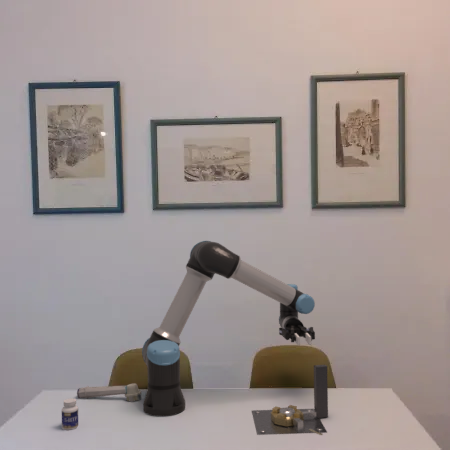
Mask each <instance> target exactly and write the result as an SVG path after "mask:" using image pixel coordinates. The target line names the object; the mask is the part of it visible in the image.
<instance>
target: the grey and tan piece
mask: <svg viewBox="0 0 450 450" xmlns="http://www.w3.org/2000/svg"><path fill="white" fill-rule="evenodd" d="M328 391H329V389H328V366H327V364H317V365H313V393H314V394H313V399H314V402H313V405H314V408H313V409H314V411H304V412H301V411H300V410H299V409H300V408H297V406H296V405H293V404H289V405H288V406H287V408H293V409H294V410H295V413H294V416H292V417H286V414H283V413H280V409H281V408H282V407H280V406H277V405H276V406H273V408H272V409H271V410H272V412H271V420H272V421H273V422H274V424H277V425H282V426H286V427H287V426H293V419H295V418H300V419H301V420H302V421H304V418H312V417H316V418H320V419H322V418H323V419H324V418H329V401H328V400H329V398H328V396H329V393H328Z"/></svg>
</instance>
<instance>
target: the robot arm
mask: <svg viewBox="0 0 450 450" xmlns="http://www.w3.org/2000/svg"><path fill="white" fill-rule="evenodd" d="M185 269H186V274H185V275H184V278H183V280H182V281H181V284H180V286H179V288H178V289H177V291H176V294H175V296H174V298H173V300H172V302H171V303H170V305H169V307H168V309H167V311H166V313H165V315H164V318H163V319H162V322H161V324H160V325H159V327H156V328H154V329H153V330H152V333H151V334H150V337H149V338H147V339H146V340H145V342H144V344H143V345H142V349H141V354H142V355H141V356H142V359H143V362H144V363H145V365H146V366H147V367H146V368H147V391H146V393H145V396H144V397H145V398H144V401H143V403H142V404H143V408H142V409H143V412H144V413H145V414H147V415H150V416H155V417H168V416H174V415H177V414H180V413H182V412H183V411H184V410H186V399H185V396H184V393H183V390H182V387H181V363H180V362H181V358H180V357H181V351H180V345H181V343H182V342H181V340H180V336H181V335H182V332H183V330H184V328H185V326H186V324H187V322H188V319H189V318H190V315H191V314H192V311H193V310H194V308H195V306H196V303H197V302H198V299H199V298H200V296H201V294H202V291H203V290H204V288H205V285H206V284H207V282H210V281H212V280H213V278H214V276H215V275H219V276H222V277H224V278H226V279H228V280H229V279H234V280H235V281H237V282H239V283H241V284H244V286H247V287H249V288H251V289H253V290H254V291H256V292H258V293H261V294H263V295H264V296H266V297H268V298H271V299H272V300H275V301H276V302H278V303H279V316H278V324H279V326H280V327H279V328H278V332H279V333H278V334H279V335H280V336H282V337H283V338H284V339H285V340H286V341H288V340H289V341H290V342H291V343H295V344H296V345H297V346H300V345H301V337H302V338H304V339H305V341H306V343H307V344H308V345H311V346H312V341H313V340H316V332H315V330H314V327H313V326H310V327H308V328H307V327H306V326H305V325H304V324H303V322H302V321H301V319H299V314H304V315H308V314H310V313H312V312H313V311H314V309H315V305H316V304H315V303H316V302H315V300H314V298H313V297H312V296H311V295H309V294H307V293H303V292H302V291H300V290H299V288H298V285H297V284H294V283H285V282H283V281H282V280H279V279H278V278H276V277H274V276H272V275H271V274H268V273H266V272H264V271H262V270H260V269H258V268H257V267H255V266H253V265H252V264H249V263H248V262H245V261H244V260H242V259H241V256H240V255H238V254H236V253H234V252H233V251H231V250H229V249H228V248H227V247H225V246H224V245H222V244H221V243H219V242H215V241H211V240H202V241H199V242H197V243H196V244H195V245H193V246H192V248H191V250H190V253H189V259H188V260H187V263H186V265H185Z"/></svg>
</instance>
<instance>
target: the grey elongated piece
mask: <svg viewBox="0 0 450 450" xmlns="http://www.w3.org/2000/svg"><path fill="white" fill-rule="evenodd" d="M118 395H124V397H125V398H126V401H127V402H131V403H134V401H140V400H142V391H141V390H139V387H138V384H137V383H135V382H134V383H129V384H127V385H109V386H107V385H105V386H89V385H87V386H86V387H85V386H84V387H78V388H77V392H76V396H77V398H78V399H89V398H101V397H107V396H109V397H110V396H118Z"/></svg>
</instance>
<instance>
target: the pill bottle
mask: <svg viewBox="0 0 450 450" xmlns="http://www.w3.org/2000/svg"><path fill="white" fill-rule="evenodd" d="M78 427H79V407H78V405H77V399H76V398H71V397H70V398H66V399H64V400H63V407H62V408H61V428H62V430H64V431H71V430H75V429H77V428H78Z"/></svg>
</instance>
